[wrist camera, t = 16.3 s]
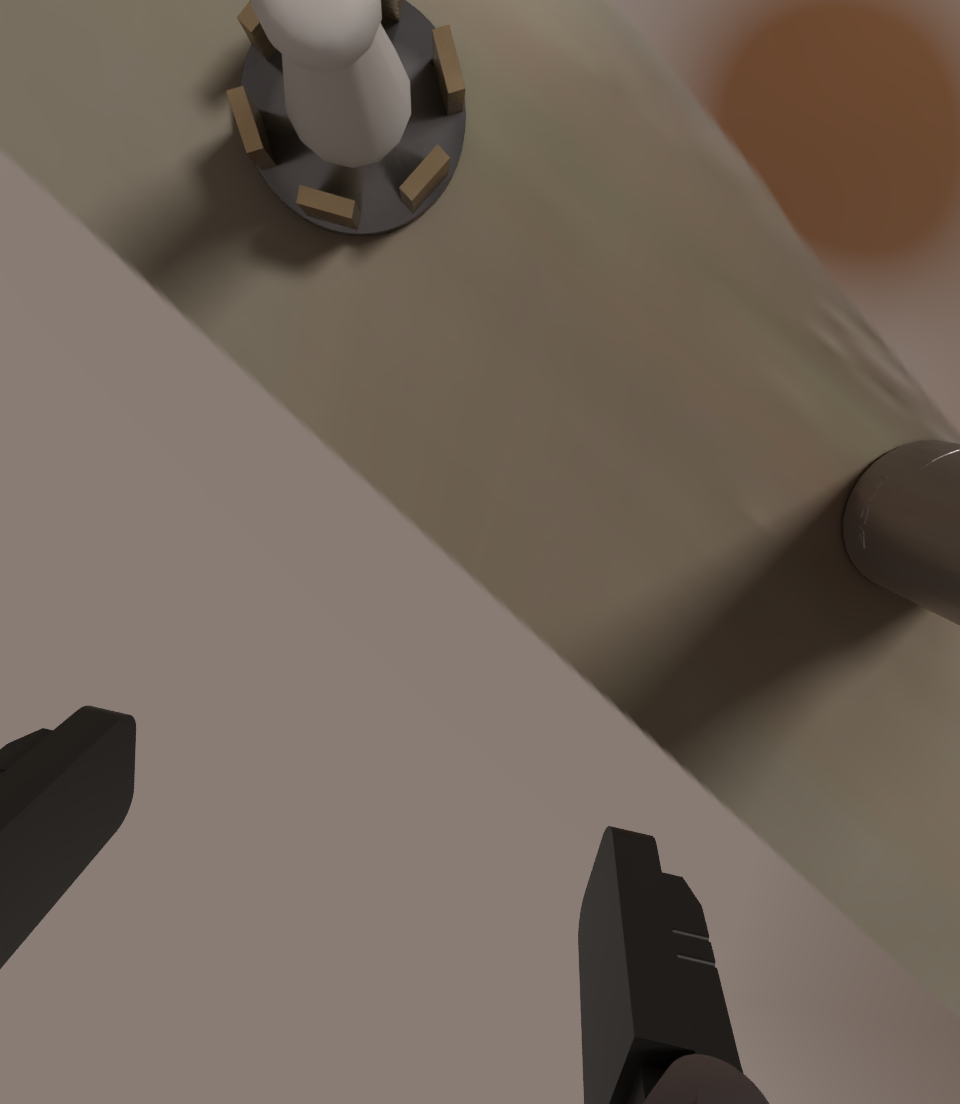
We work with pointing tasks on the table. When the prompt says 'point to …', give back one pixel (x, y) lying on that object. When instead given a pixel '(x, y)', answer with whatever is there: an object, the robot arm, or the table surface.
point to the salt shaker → (339, 77)
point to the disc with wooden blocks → (372, 190)
